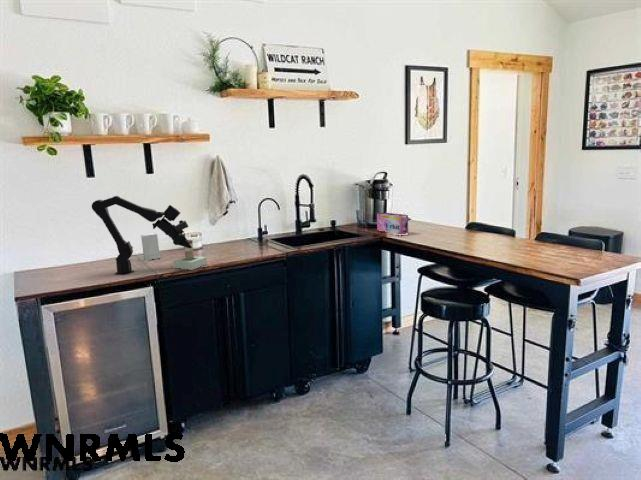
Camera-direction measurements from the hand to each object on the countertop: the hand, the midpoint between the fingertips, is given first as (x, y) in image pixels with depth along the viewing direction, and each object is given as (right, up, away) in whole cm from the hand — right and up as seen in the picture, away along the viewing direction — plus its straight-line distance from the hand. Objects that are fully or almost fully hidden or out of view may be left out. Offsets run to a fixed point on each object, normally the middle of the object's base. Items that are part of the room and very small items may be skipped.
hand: (191, 247), depth 256 cm
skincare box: (-29, -8, +24) cm, 38 cm away
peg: (-1, -7, +1) cm, 7 cm away
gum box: (+117, +7, +75) cm, 139 cm away
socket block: (-1, -10, +1) cm, 10 cm away
